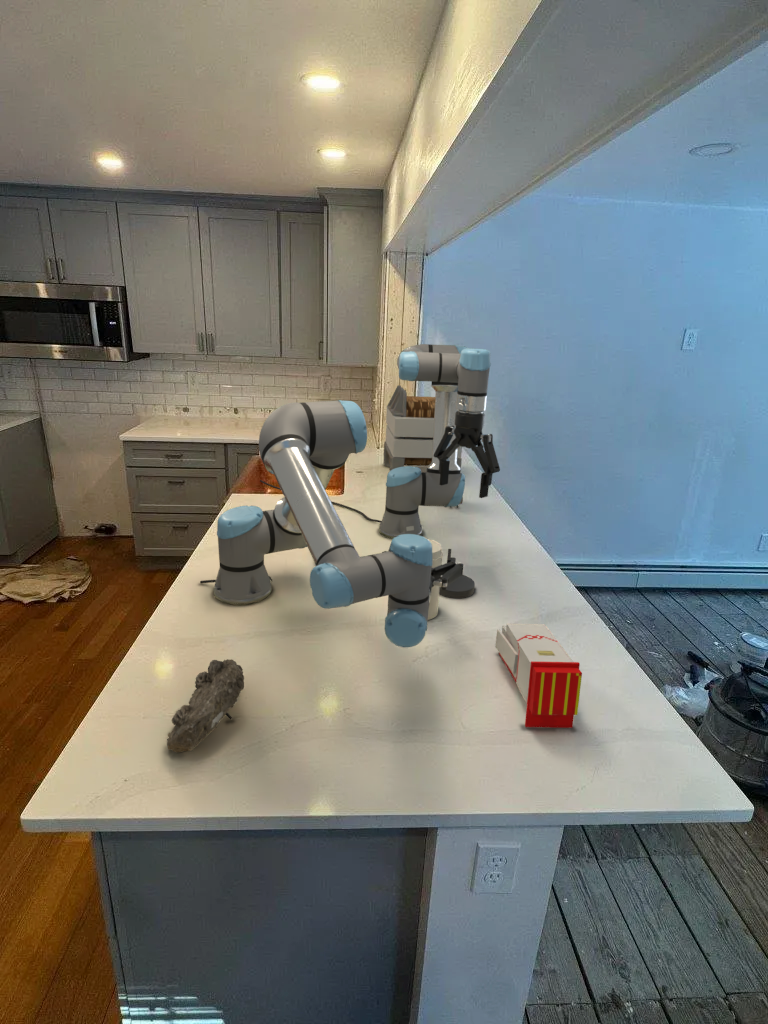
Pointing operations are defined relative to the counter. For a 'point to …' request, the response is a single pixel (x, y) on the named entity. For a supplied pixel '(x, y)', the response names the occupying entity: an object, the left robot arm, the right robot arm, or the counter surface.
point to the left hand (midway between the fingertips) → (420, 551)
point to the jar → (435, 591)
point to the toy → (541, 674)
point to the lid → (459, 588)
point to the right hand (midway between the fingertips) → (462, 490)
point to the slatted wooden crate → (410, 431)
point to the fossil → (206, 705)
